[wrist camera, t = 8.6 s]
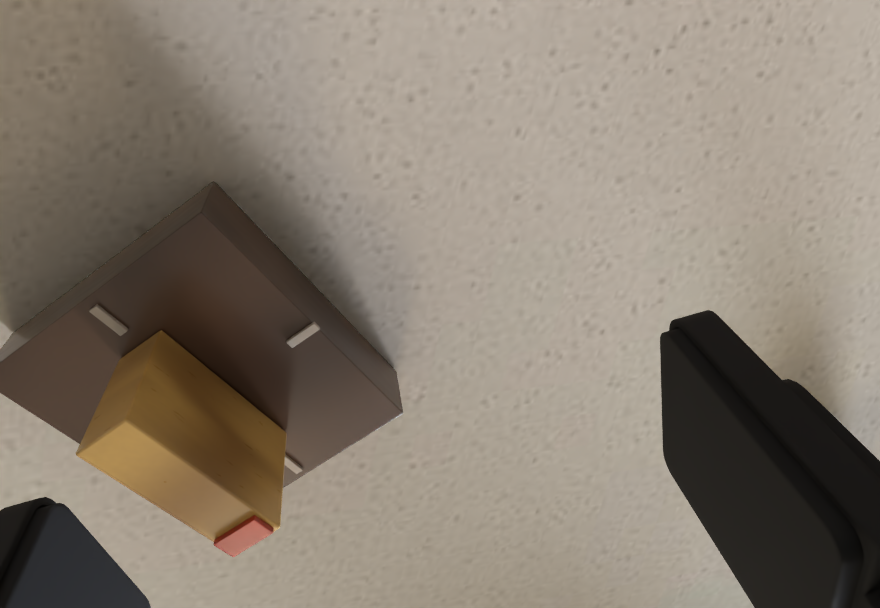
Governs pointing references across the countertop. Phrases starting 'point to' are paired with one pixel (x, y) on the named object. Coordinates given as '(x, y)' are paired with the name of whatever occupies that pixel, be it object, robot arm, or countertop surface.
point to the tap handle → (189, 445)
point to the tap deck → (208, 334)
